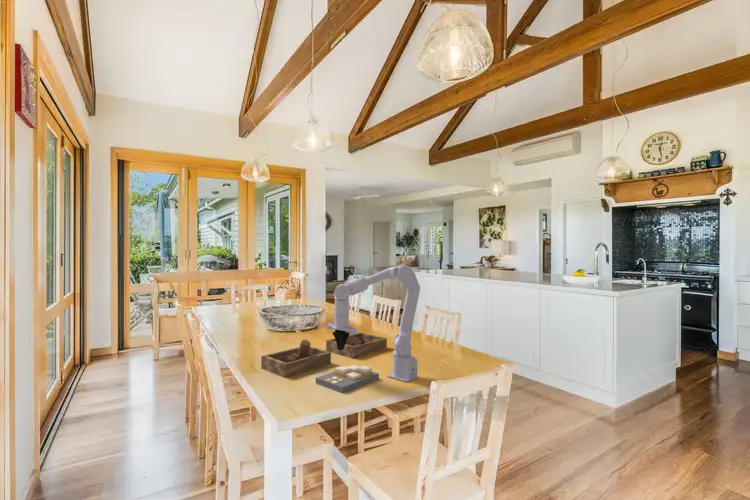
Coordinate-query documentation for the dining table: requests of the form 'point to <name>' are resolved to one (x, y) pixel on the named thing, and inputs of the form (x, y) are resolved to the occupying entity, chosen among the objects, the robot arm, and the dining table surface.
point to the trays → (320, 355)
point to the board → (344, 381)
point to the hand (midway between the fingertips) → (341, 349)
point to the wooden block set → (299, 352)
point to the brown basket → (356, 340)
